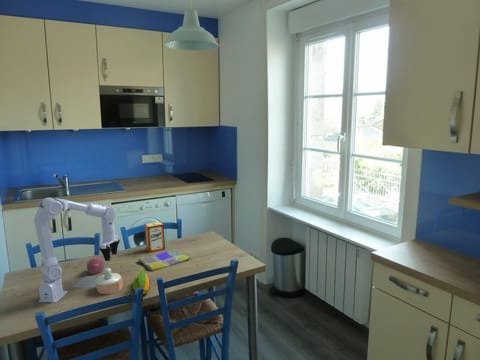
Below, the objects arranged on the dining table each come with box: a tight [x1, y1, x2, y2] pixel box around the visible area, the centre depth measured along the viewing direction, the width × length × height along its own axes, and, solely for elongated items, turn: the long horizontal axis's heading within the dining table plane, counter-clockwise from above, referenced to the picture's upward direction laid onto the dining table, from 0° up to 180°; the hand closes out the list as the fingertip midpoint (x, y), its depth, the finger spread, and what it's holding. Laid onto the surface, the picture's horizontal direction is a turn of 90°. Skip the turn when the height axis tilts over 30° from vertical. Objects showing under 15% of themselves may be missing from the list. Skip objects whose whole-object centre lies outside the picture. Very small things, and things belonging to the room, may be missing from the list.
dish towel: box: [136, 248, 191, 272], centre depth 197 cm, size 18×24×3 cm
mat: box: [72, 275, 100, 289], centre depth 173 cm, size 12×12×1 cm
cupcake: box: [86, 256, 105, 275], centre depth 182 cm, size 9×8×12 cm
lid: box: [95, 267, 122, 285], centre depth 165 cm, size 11×11×5 cm
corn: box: [132, 269, 151, 295], centre depth 166 cm, size 7×8×20 cm
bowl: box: [96, 276, 124, 295], centre depth 166 cm, size 11×11×4 cm
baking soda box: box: [144, 221, 166, 254], centre depth 213 cm, size 10×6×16 cm
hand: (110, 257), depth 177 cm, fingers open, 7 cm apart
